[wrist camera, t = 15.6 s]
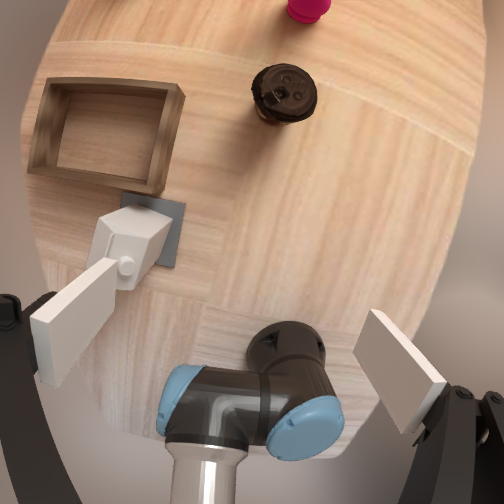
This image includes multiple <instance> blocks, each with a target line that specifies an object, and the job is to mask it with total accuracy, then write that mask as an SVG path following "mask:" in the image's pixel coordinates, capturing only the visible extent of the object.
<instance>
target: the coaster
mask: <svg viewBox="0 0 504 504" xmlns="http://www.w3.org/2000/svg"><path fill="white" fill-rule="evenodd" d="M135 203H136V204H138V205H141V206H143V207H146V208H148V209H151V210H153V211H155V212H158V213H160V214H163V215H165V216H168V217H170V218H173V221H172V224H171V227H170V229H169V232H168V235H167V238H166V240H165V243H164V246H163V249H162V252H161V254H160V257H159V258H158V259H157V261H156V262H155V263H154V264H159V265H163V266H168V267H173V268H174V267H175V261H176V255H177V249H178V243H179V237H180V232H181V226H182V221H183V215H184V210H185V205H186V203H181V202H176V201H171V200H166V199H161V198H155V197H150V196H145V195H140V194H134V193H129V192H123V193H122V199H121V206H120V209H122V208H124V207H127V206H130V205H132V204H135Z"/></svg>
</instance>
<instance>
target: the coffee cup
mask: <svg viewBox="0 0 504 504" xmlns="http://www.w3.org/2000/svg"><path fill="white" fill-rule="evenodd" d="M251 90H252V93H253V96H254V101H255V107H256V110H257V114H258V116H259V117H260V119H261V120H262V121H263V122H264V123H265V124H266V125H268V126H275V127H277V126H282V125H285V124H286V125H287V124H289V123H294V122H298V121H302V120H304V119H307V118H308V117H310V116H311V115H312V114H313V112H314V110H315V107H316V104H317V89H316V86H315V83H314V81H313V79H312V78H311V77H310V75H309V74H308V73H307V72H306V71H304V70H303V69H301V68H299V67H297V66H295V65H291V64H285V63H282V64H277V65H272V66H270V67H266V68H265V69H263V70H262V71H260V72H259V73H258V74H257V76H256V77H255V78H254V80H253V83H252V88H251Z"/></svg>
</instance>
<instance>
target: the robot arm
mask: <svg viewBox="0 0 504 504" xmlns="http://www.w3.org/2000/svg"><path fill="white" fill-rule="evenodd" d="M117 264H118V260H114V259H109V258H105V257H104V258H102V259H101V260H100V261H98V262H97V263H96V264H94V265H93V266H92V267H90V268H89V269H88V270H86V271H85V272H84V273H83V274H81V275H80V276H79V277H77V278H76V279H75V280H74V281H72V282H71V283H70V284H69V285H67V286H66V287H65V288H63V289H62V290H61V291H60V292H59V293H57V292H54V291H52V292H50V293H47V294H44V295H42V296H41V297H40V298H39V299H37V301H35V302H33V303H32V304H31V305H30V306H28V307H27V308H26V309H25V310H23V311H21V302H20V300H19V298H17V297H16V296H14V295H10V294H0V440H1V445H2V448H3V453H4V457H5V461H6V465H7V468H8V472H9V476H10V479H11V482H12V485H13V488H14V491H15V494H16V497H17V500H18V503H19V504H82V502H81V500H80V498H79V496H78V494H77V492H76V490H75V488H74V486H73V484H72V482H71V480H70V478H69V476H68V474H67V472H66V469H65V467H64V465H63V462H62V460H61V458H60V455H59V453H58V451H57V448H56V445H55V443H54V440H53V438H52V435H51V432H50V430H49V426H48V424H47V421H46V418H45V415H44V411H43V408H42V405H41V402H40V398H39V395H38V391H37V388H36V384H35V380H34V376H33V375H34V374H35V373H36V372H37V370H38V374H39V378H40V382H41V383H44V384H46V385H49V386H51V387H53V388H56V389H58V388H59V386H60V385H61V383H62V382H63V380H64V379H65V378H66V376H67V374H68V373H69V372H70V370H71V369H72V367H73V366H74V365H75V363H76V362H77V360H78V359H79V357H80V356H81V355H82V353H83V352H84V351H85V349H86V348H87V346H88V345H89V344H90V342H91V341H92V340H93V338H94V337H95V335H96V334H97V333H98V331H99V330H100V329H101V327H102V326H103V325H104V323H105V322H106V321H107V319H108V318H109V317H110V316H111V314H112V313H113V312H114V310H115V291H116V276H117ZM353 354H354V355H355V357H356V358H357V360H358V362H359V363H360V365H361V367H362V368H363V370H364V372H365V373H366V375H367V377H368V378H369V380H370V382H371V383H372V385H373V387H374V388H375V390H376V392H377V393H378V395H379V397H380V399H381V400H382V402H383V403H384V405H385V407H386V409H387V410H388V412H389V414H390V416H391V417H392V419H393V421H394V423H395V424H396V426H397V428H398V429H399V431H400V433H401V434H407V433H414V432H415V431H416V430H417V429H418V427H419V426H420V424H421V423H422V422H423V424H424V425H425V429H424V431H423V432H422V433H421V435H420V436H419V437H418V439H417V440H416V441H415V443H414V444H413V445H412V446H413V447H414V446H415V445H416V444H418V447H417V450H416V453H415V457H414V460H413V463H412V466H411V469H410V472H409V475H408V478H407V481H406V483H405V486H404V489H403V491H402V494H401V497H400V499H399V502H398V504H504V398H503V397H502V396H501V395H500V394H498V393H497V392H493V391H488V392H486V394H485V395H484V397H483V399H482V400H477V399H475V398H474V395H473V394H472V393H471V392H470V391H469V390H468V389H466V388H464V387H461V386H451V385H450V384H449V383H448V382H447V381H446V379H445V378H444V377H443V376H442V375H441V374H440V373H439V372H438V370H437V369H436V368H434V366H433V365H432V364H431V363H430V362H429V361H428V360H427V359H426V358H425V357H424V356H423V355H422V353H421V352H420V351H419V350H418V349H417V348H416V347H415V346H414V345H413V344H412V343H411V342H410V340H409V339H408V338H407V337H406V336H405V335H404V334H403V333H402V332H401V331H400V330H399V329H398V328H397V327H396V326H395V324H394V323H393V322H392V321H391V320H390V319H389V318H388V317H387V316H386V315H385V314H384V313H383V312H382V311H379V310H372V309H370V310H369V313H368V316H367V318H366V321H365V323H364V326H363V328H362V331H361V333H360V336H359V338H358V341H357V343H356V346H355V348H354V350H353ZM325 356H326V353H325V347H324V344H323V342H322V340H321V337H320V336H319V334H318V333H317V332H316V331H315V330H314V329H313V328H312V327H310V326H308V325H306V324H304V323H301V322H296V321H284V322H278V323H275V324H272V325H270V326H268V327H266V328H264V329H263V330H261V331H260V332H259V333H258V334H257V335H256V336H255V337H254V338H253V340H252V341H251V343H250V345H249V347H248V351H247V363H248V368H249V371H241V370H232V369H224V368H216V367H209V366H207V365H201V366H197V365H187V364H182V365H179V366H177V367H175V368H174V369H173V371H172V372H171V373H170V375H169V377H168V379H167V381H166V384H165V386H164V389H163V392H162V396H161V399H160V403H159V408H158V412H159V413H158V416H157V420H156V430H157V432H158V433H159V434H160V435H162V436H163V437H165V436H166V440H165V448H166V449H167V450H168V452H169V453H170V454H171V455H172V457H173V459H174V466H173V476H172V487H171V497H170V504H235V491H236V469H237V466H238V464H239V463H240V462H241V461H242V460H244V459H245V458H246V457H247V456H248V447H249V445H257V446H266V449H267V450H268V451H269V453H270V454H271V455H272V456H273V457H277V459H279V460H283V461H298V460H303V459H307V458H310V457H313V456H315V455H317V454H319V453H321V452H322V451H324V450H326V449H327V448H329V447H330V446H331V445H332V444H333V443H334V442H335V441H336V440H337V439H338V438H339V436H340V435H341V433H342V431H343V428H344V415H343V412H342V409H341V403H340V401H339V400H338V398H337V396H336V394H335V392H334V389H333V387H332V385H331V383H330V380H329V378H328V376H327V374H326V372H325V369H324V368H325ZM488 431H489V435H488V438H487V439H486V441H485V442H484V443H483V441H482V439H483V438H484V436H485V435H486V434H487V432H488Z"/></svg>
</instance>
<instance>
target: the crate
mask: <svg viewBox="0 0 504 504" xmlns="http://www.w3.org/2000/svg"><path fill="white" fill-rule="evenodd" d="M72 92H81V93H103V94H118V95H130V96H140V97H149V98H158V99H166V101H165V104H164V108H163V112H162V116H161V120H160V124H159V128H158V132H157V137H156V141H155V146H154V150H153V155H152V160H151V165H150V170H149V175H148V180H147V181H146V180H140V179H135V178H129V177H123V176H117V175H111V174H104V173H98V172H92V171H85V170H78V169H71V168H64V167H57V166H56V165H57V159H58V153H59V147H60V142H61V137H62V132H63V127H64V123H65V118H66V114H67V110H68V106H69V102H70V98H71V94H72ZM185 97H186V96H185V95H184V93H183V92H182V90H181V89H180V87H179V86H178V84H174V83H166V82H157V81H147V80H135V79H121V78H99V77H55V78H47V80H46V84H45V87H44V91H43V94H42V98H41V102H40V106H39V110H38V114H37V119H36V123H35V128H34V133H33V138H32V144H31V150H30V156H29V162H28V170H27V173H29V174H36V175H43V176H50V177H56V178H63V179H69V180H75V181H81V182H87V183H93V184H99V185H105V186H111V187H116V188H122V189H128V190H133V191H139V192H144V193H149V194H153V193H156V192H160V191H163V190H164V189H165V184H166V179H167V174H168V169H169V164H170V159H171V155H172V150H173V146H174V141H175V137H176V133H177V129H178V125H179V120H180V116H181V113H182V109H183V105H184V101H185Z"/></svg>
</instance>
